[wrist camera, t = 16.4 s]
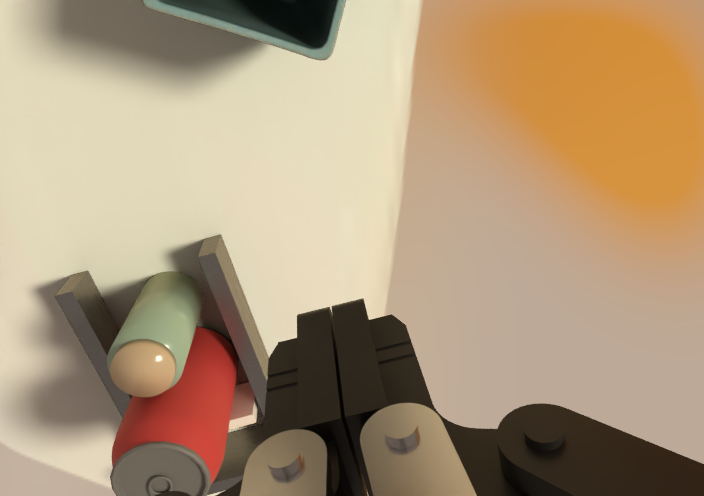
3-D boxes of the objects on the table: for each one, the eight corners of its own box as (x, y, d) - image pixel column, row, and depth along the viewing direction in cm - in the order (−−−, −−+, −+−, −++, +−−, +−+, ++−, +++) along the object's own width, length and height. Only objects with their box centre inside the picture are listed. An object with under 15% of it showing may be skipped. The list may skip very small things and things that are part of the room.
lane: (71, 275, 38) (41, 311, 34) (220, 234, 38) (210, 265, 34) (169, 458, 46) (155, 508, 41) (294, 425, 46) (294, 472, 41)
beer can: (148, 388, 43) (97, 519, 32) (155, 316, 40) (102, 432, 29) (233, 397, 44) (212, 527, 33) (244, 328, 41) (226, 444, 30)
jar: (130, 282, 39) (88, 354, 31) (188, 263, 39) (160, 331, 31) (158, 331, 41) (124, 411, 33) (213, 313, 41) (193, 389, 33)
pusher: (161, 405, 43) (149, 441, 40) (256, 379, 43) (252, 414, 40) (165, 412, 44) (153, 449, 40) (259, 387, 44) (256, 422, 40)
